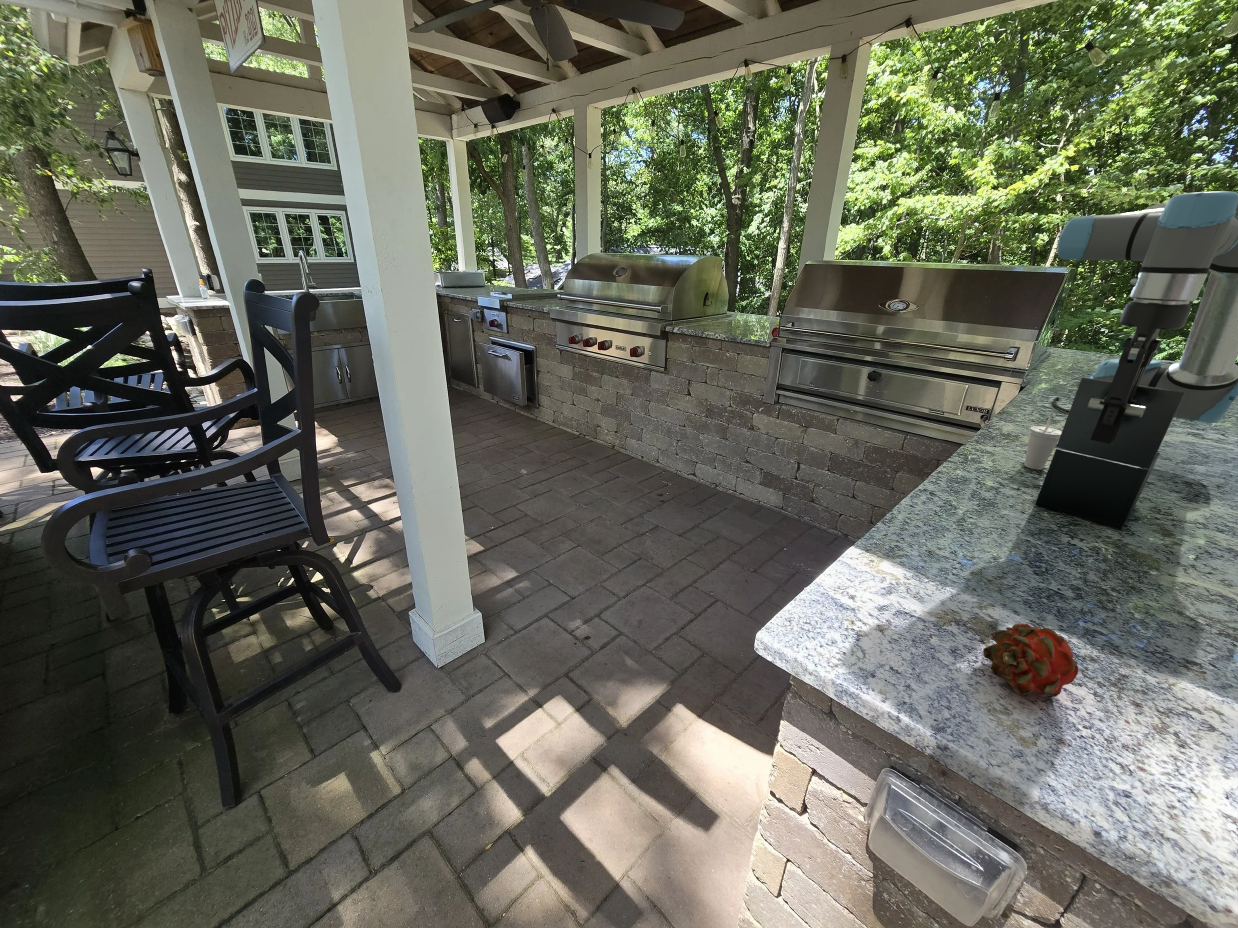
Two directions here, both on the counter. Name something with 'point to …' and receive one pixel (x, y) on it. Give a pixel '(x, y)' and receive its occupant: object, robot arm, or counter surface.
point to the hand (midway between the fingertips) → (1102, 439)
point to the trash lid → (1137, 429)
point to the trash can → (1093, 487)
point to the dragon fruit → (1032, 659)
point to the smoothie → (1041, 445)
